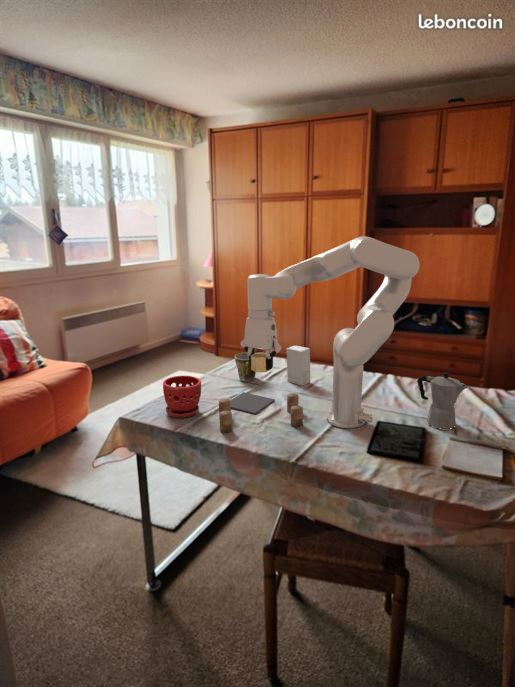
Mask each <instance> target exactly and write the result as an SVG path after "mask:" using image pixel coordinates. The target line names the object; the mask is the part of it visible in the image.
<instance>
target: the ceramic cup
mask: <svg viewBox="0 0 515 687" xmlns="http://www.w3.org/2000/svg"><path fill="white" fill-rule="evenodd" d="M234 361H235V364H236V367H237V368H236V369H237V373H238V378H239V381H244V382H251V381H254V380H255V378H256V374H257V372H254V371H253V370H251V368H250V364H249V356H248V355H247V352H240V353H237V354H235V355H234Z"/></svg>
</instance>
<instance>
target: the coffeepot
mask: <svg viewBox="0 0 515 687" xmlns="http://www.w3.org/2000/svg"><path fill="white" fill-rule="evenodd" d="M449 375H450V372H443V376H435V377H434V376H430V375H421V376H420V377H418V378H417V380H416V382H417V383H416V384H417V387H418V390H419V394H420V397H421V399H422V400H425V401H427V400H429V397H428V396H426V395H425V392H426V391H425V389H424V388H425V387H424V383H423V382H426V383H429V384H430V391H431V392H430V393H431V400H432V402H431V403H430V407H429V411H428V414H427V417H426V423H427V422H428V424H429V425H431V426H433V427H435V428H434V429H436V428H441V429H450V428H452V427H454V426H456V427H457V424H456V423H457V422H456V410H455V404H456V403H457V399H458V397H459V395H460V394H461V393H462V392H463V391H464V390H465V389H468V386H467V384H465V383H462V382H460V380H459V379H456V378H452V377H449ZM428 424H427V425H428ZM429 425H428V426H429ZM431 426H430V427H431ZM433 427H432V428H433Z"/></svg>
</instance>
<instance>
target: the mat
mask: <svg viewBox="0 0 515 687" xmlns="http://www.w3.org/2000/svg"><path fill="white" fill-rule="evenodd" d="M229 400H230V403H231V410H236V411H240V412H244V413H246V414H247V413H248V414H252V415H257V414H259V412H262V411H263V410H265V408H267V407H268V406H269V405H271V404H273V403H274V402H275V400H276V399H275V398H271V397H267V396H261V395H257V394H253V393H248V392H241V393H239V394H238V395H236V396H235V397H233V398H231V399H229Z"/></svg>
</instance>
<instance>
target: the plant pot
mask: <svg viewBox="0 0 515 687" xmlns="http://www.w3.org/2000/svg"><path fill="white" fill-rule="evenodd" d="M173 384H175V386H172V385H173ZM187 385H189V386H187ZM162 392H163V396H164V401H165V403H166V407H165V412H166V414H168V416H171V417H174V418H180V419H181V418H188V417H192V416H194V415H195V414H197V413H198V411H199V409H200V406H199V403H200V400H201V394H202V380H201V379H200V378H198V377H196V376H192V375H175V376H170V377H168V378H166V379H164V380H163V383H162Z"/></svg>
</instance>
